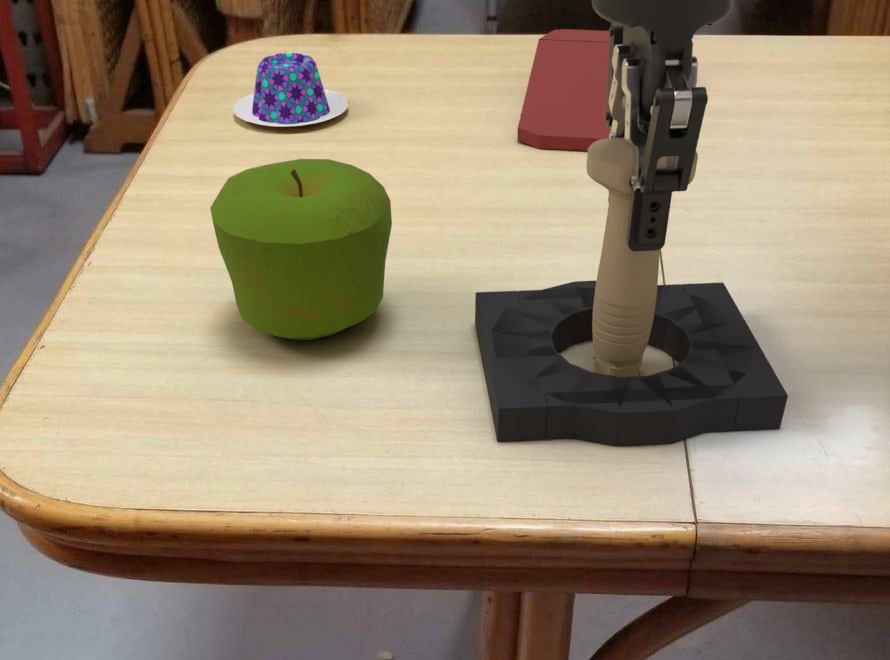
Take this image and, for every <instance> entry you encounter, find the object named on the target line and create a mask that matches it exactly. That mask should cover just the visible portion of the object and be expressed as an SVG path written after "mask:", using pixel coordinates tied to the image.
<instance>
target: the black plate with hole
mask: <svg viewBox="0 0 890 660" xmlns="http://www.w3.org/2000/svg"><path fill="white" fill-rule="evenodd" d="M596 281H597V280H576V281H571V282H567V283H563V284H559V285H555V286H550V287H547V288H542V289H528V290H527V289H525V290H524V289H523V290H503V291H502V290H501V291H499V290H498V291H476V292H475V296H474V297H475V299H474V300H475V305H474V312H475V313H474V325H475V331H476V335H477V340H478V346H479V352H480V358H481V362H482V368H483V373H484V377H485V383H486V389H487V395H488V400H489V405H490V410H491V415H492V420H493V424H494V432H495V436H496V437H495V438H496V441H497V442H511V441H512V442H513V441H515V442H517V441H537V440H562V439H577V440H582V441H587V442H593V443H597V444H598V443H599V444H602V445H608V446H614V447H615V446H616V447H619V446H620V447H622V446H623V447H625V446H642V445H643V446H644V445H663V444H664V445H665V444H667V445H669V444H674V443H676V442H679V441H683V440H686V439H689V438H693V437H696V436H698V435H702V434H704V433H713V432H714V433H715V432H716V433H717V432H732V431H734V432H735V431H737V432H738V431H755V430H756V431H758V430H779V429H781V426H782V422H783V417H784V414H785V409H786V405H787V401H788V398H789V395H788V393H787V391H786V390H785V387H784V386H783V384H782V382H781V381H780V379H779V377H778V375H777V374H776V372H775V370H774V368H773V367H772V365H771V363H770V362H769V360H768V358H767V356H766V354H765V353H764V351H763V350H762V349H763V348H762V347H761V345H760V344H759V342H758V341H757V338H756V336H754V334H753V332H752V330H751V328H750V327H749V325H748V323H747V321H746V319H745V318H744V316H743V314H742V313H741V311H740V310H739V307H738V306H737V304H736V302H735V301H734V298H733V297H732V295H731V293H730V291H729V290H728V287H726V285H725V283H724V282H723V281H721V282H701V283H699V282H698V283H682V284H681V283H678V284H677V283H676V284H673V283H672V284H658V286H657V297H656V306H655V313H654V319H653V323H652V328H651V332H650V336H649V340H648V343H647V345H649V346H651V347H654V348H656V349H659V350H662V351H664V352H665V353H667V354H668V355H670V356H671V357H672V358H673V359H674V360H675V361H677V362H678V364H676V365H675V366H673V367H672V368H670V369H669V368H668V369H666V370H661V371H658V372H655V373H653V374H649V375H638V376H633V377H617V376H611V375H605V374H599V373H595V372H594V371H593V372H592V371H590V370H588V369H585V368H583V367H580V366H579V365H576V364H574V363H571V362H570V361H568V360H567V359H566V358H565V357H564V356H563V355H562V354H560V352H562V351H563V350H565V349H566V348H568V347H569V346H570V345H575V344H578V343H582V342H585V341H589V340H593V334H592V329H593V328H592V321H593V303H594V294H595V287H596Z"/></svg>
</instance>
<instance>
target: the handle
mask: <svg viewBox="0 0 890 660" xmlns="http://www.w3.org/2000/svg"><path fill="white" fill-rule="evenodd" d="M586 154H587V155H586V173H587V176H588V177H589V178H590V179H591V180H593V181H594V182H595V183H597V184H598V185H600V186H602V187H603V188H605V189H606V190H607V191H608V196H609V203H608V206H607V215H606V220H605V228H604V233H603V240H602V241H603V242H602V247H601V252H600V258H599V265H598V270H597V275H596V280H595V281H596V287H595V294H594V303H593V321H592V328H593V329H592V334H593V339H592V345H593V346H592V347H593V350H594V352H595V354H594V356H592V370H593V373H599V374H605V375H611V376H617V377H633V376H639V373H640V370H641V366H642V362H643V358H644V355H645V351H646V349H647V346H648V344H647V343H648V340H649V336H650V332H651V328H652V323H653V319H654V313H655V306H656V297H657V286H658V285H659V272H660V271H659V270H660V269H659V268H660V255H661V254H660V253H661V249H660V250H656V251H632V250H630V248H629V247H628V244H627V242H626V235H627V226H628V218H629V209H630V200H631V192H632V185H631V176H632V166H633V150H632V148H631V147H629V146H628V145H627V144H626V143H625V137H622V138H609V139H600V140H598V141H596V142H594V143H592V144H591V145H590V146H589V148H588V151H587V153H586ZM698 159H699V154H698V152H697V151H696V152H695V157H694V161H693V165H692V170H691V174H690V180H689V184H688V185H690V184H691V183H692V182H693V181H694V179H695V176H696V172H697V165H698ZM666 160H667V157H661V158H660V159H659V160H658V162H657V168H666Z"/></svg>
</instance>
